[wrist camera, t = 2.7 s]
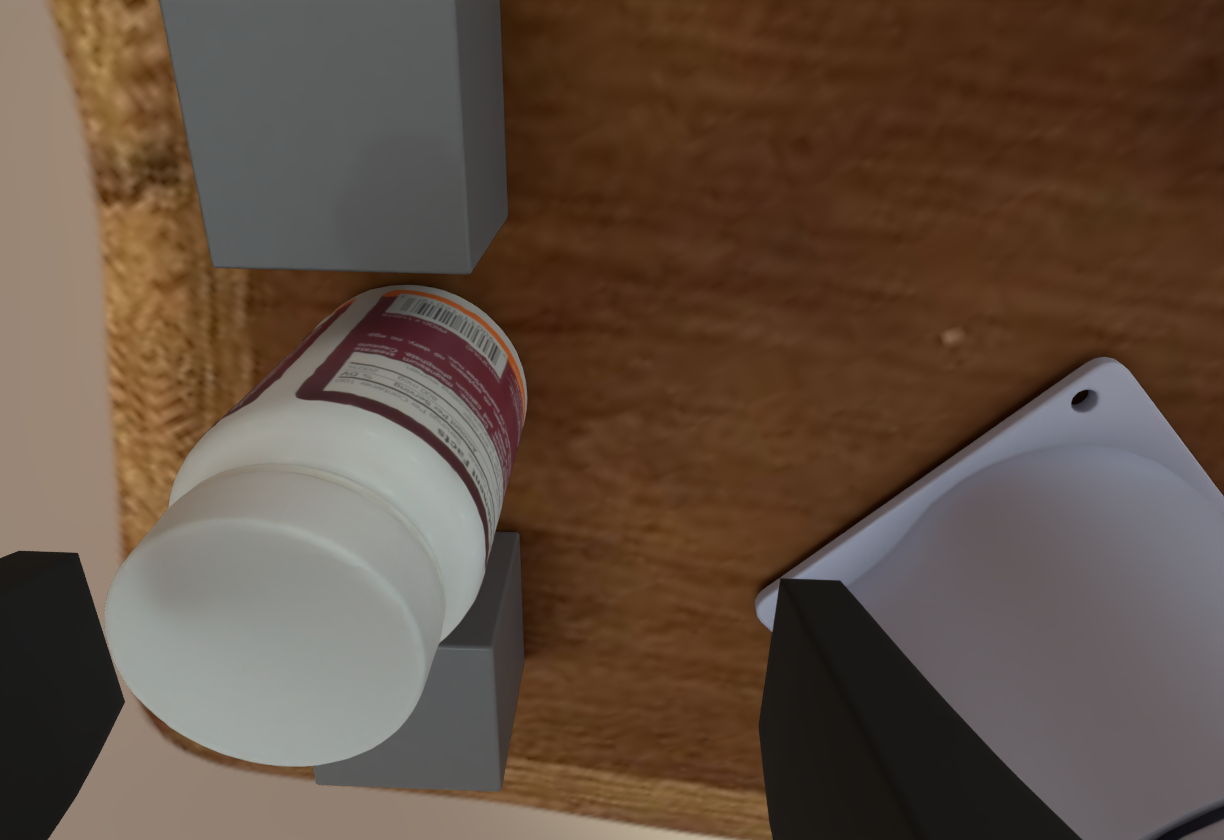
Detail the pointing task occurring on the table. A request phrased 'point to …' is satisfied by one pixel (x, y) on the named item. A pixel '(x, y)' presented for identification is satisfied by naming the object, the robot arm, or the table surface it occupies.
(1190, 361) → the table surface
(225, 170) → the grey block
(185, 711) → the pill bottle
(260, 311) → the table surface
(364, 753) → the grey block
